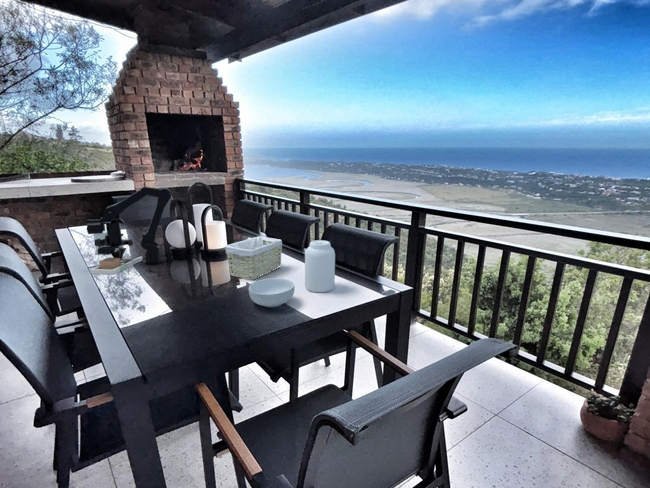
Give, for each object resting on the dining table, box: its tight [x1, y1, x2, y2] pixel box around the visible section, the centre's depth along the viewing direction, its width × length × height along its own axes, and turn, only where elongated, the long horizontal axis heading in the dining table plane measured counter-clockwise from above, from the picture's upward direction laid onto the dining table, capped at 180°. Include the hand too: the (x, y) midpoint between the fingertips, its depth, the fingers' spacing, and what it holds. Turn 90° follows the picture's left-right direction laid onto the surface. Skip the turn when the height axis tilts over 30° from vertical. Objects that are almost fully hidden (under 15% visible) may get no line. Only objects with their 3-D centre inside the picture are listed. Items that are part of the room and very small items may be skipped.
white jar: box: [304, 239, 336, 293], centre depth 139 cm, size 12×12×20 cm
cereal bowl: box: [248, 277, 295, 308], centre depth 125 cm, size 17×17×7 cm
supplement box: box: [92, 229, 107, 255], centre depth 188 cm, size 7×7×13 cm
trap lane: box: [89, 255, 143, 276], centre depth 165 cm, size 11×24×2 cm, turn 178°
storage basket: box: [225, 236, 283, 281], centre depth 159 cm, size 24×16×15 cm
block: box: [99, 257, 122, 270], centre depth 160 cm, size 6×6×5 cm
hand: (118, 263), depth 165 cm, fingers closed
